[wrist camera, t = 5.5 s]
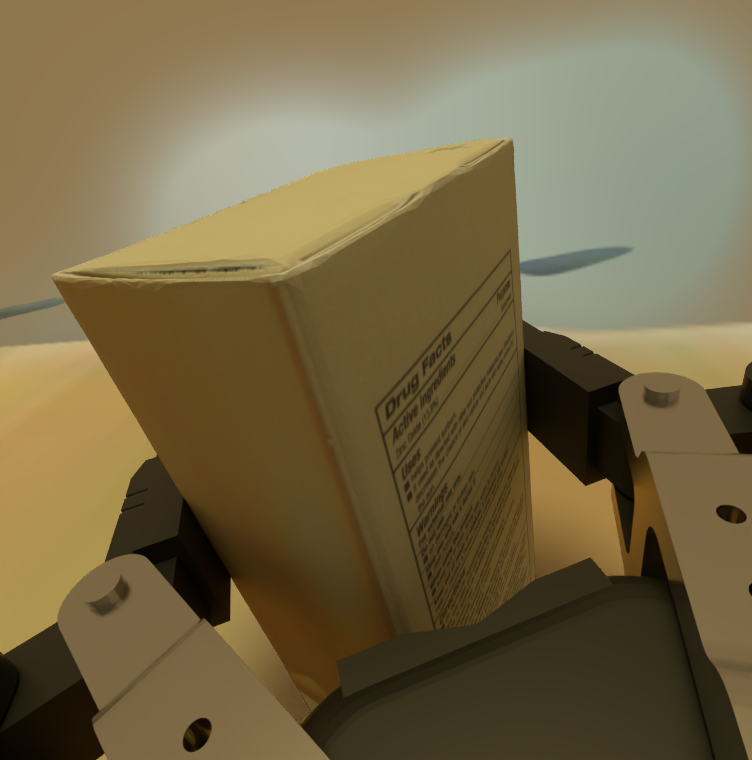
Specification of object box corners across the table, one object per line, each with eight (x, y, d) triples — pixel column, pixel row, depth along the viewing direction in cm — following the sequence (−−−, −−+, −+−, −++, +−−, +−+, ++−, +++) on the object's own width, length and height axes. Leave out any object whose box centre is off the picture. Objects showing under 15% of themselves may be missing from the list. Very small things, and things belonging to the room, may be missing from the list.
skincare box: (413, 538, 16) (325, 163, 10) (541, 580, 14) (524, 127, 8) (301, 729, 12) (23, 263, 6) (461, 839, 9) (278, 246, 3)
